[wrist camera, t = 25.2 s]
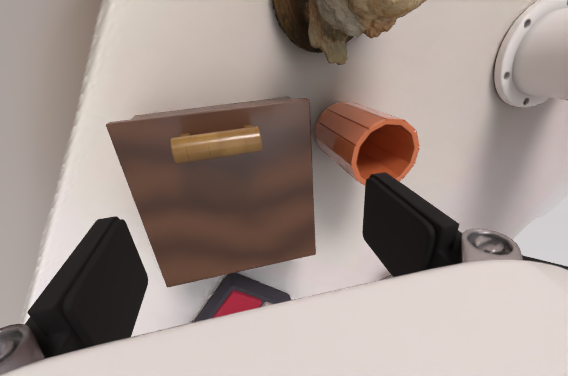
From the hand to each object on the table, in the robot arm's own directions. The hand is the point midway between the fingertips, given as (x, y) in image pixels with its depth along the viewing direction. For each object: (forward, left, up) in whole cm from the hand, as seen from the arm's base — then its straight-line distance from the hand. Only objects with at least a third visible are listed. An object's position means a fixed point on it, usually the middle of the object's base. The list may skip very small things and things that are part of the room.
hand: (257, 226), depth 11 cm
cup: (-11, +7, -21) cm, 25 cm away
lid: (+3, +5, -14) cm, 16 cm away
